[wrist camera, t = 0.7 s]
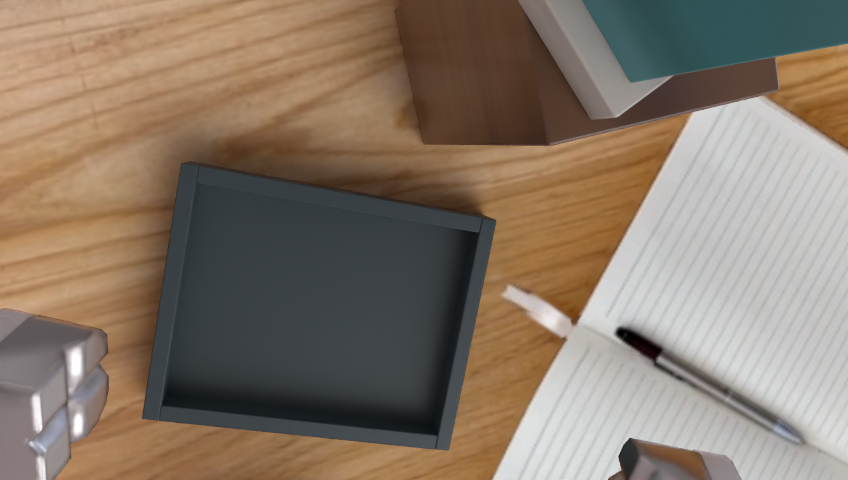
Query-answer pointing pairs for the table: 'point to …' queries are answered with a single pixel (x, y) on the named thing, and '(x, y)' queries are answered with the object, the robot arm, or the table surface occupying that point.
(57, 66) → the table surface
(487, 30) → the stand
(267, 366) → the tray
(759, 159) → the table surface
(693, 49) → the eraser
